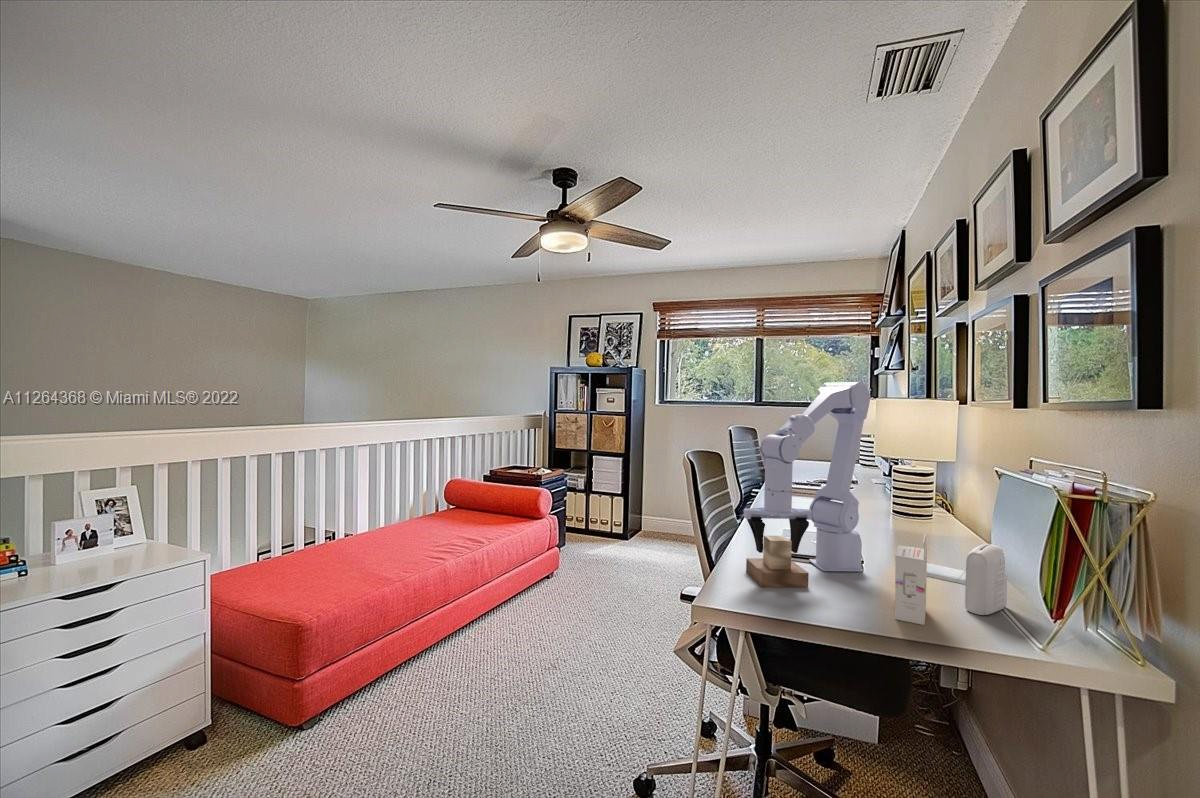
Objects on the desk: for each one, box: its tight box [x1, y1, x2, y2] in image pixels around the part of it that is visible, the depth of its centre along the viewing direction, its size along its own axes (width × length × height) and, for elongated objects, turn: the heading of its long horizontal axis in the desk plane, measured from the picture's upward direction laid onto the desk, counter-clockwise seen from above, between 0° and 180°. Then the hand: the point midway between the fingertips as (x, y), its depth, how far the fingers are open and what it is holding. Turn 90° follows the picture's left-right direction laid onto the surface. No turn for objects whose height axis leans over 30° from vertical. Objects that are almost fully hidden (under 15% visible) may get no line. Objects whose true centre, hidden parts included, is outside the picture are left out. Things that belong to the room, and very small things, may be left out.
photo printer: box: [964, 543, 1008, 616], centre depth 103 cm, size 10×4×12 cm, turn 123°
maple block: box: [762, 535, 792, 569], centre depth 117 cm, size 4×4×6 cm
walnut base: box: [745, 557, 810, 588], centre depth 117 cm, size 10×10×3 cm
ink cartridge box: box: [894, 533, 928, 626], centre depth 99 cm, size 9×5×15 cm, turn 148°
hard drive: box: [927, 562, 966, 585], centre depth 124 cm, size 2×8×12 cm
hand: (776, 551), depth 117 cm, fingers open, 7 cm apart
